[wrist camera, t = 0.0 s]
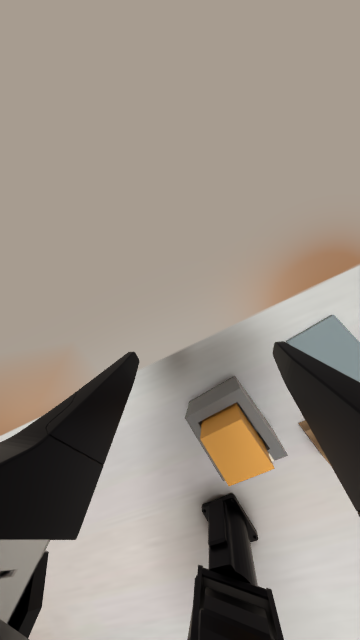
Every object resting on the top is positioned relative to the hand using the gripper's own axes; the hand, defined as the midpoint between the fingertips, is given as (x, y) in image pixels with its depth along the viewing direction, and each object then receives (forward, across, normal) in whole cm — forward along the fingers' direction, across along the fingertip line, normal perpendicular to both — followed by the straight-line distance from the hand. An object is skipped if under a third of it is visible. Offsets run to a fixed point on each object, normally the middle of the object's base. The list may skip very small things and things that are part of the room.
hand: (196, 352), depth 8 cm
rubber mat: (+10, -17, +12) cm, 23 cm away
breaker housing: (+5, -2, +20) cm, 21 cm away
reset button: (+2, -2, +18) cm, 19 cm away
